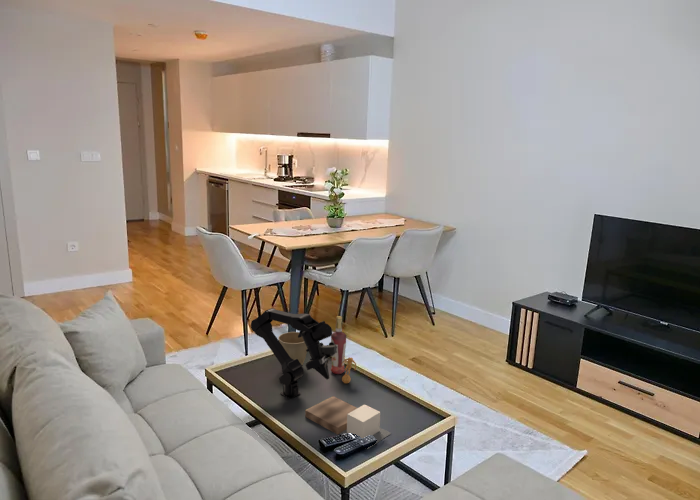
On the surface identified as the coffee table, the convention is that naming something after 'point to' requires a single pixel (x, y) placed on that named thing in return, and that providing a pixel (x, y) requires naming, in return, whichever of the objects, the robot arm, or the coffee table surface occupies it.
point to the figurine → (346, 377)
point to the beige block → (363, 421)
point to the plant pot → (294, 345)
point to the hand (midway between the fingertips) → (328, 379)
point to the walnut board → (330, 414)
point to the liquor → (338, 348)
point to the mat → (376, 435)
